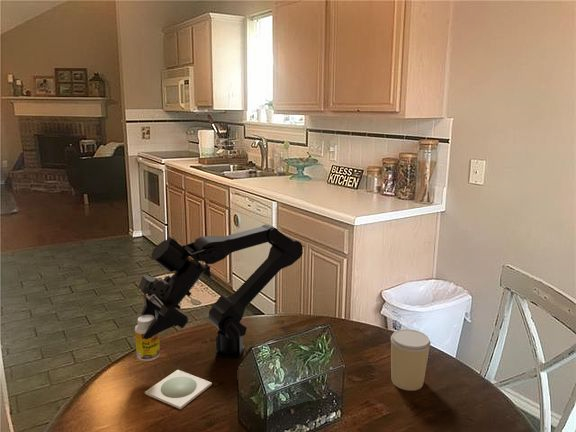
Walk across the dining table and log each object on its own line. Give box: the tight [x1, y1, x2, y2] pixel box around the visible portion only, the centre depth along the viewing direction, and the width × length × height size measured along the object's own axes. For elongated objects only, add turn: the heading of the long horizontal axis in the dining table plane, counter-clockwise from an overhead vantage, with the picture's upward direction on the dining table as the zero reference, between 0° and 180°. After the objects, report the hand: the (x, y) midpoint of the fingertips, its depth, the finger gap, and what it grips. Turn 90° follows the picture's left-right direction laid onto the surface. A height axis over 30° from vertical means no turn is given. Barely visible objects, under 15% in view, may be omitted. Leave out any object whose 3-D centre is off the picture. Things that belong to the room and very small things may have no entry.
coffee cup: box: [390, 328, 431, 391], centre depth 116 cm, size 9×9×12 cm
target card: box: [144, 369, 213, 410], centre depth 113 cm, size 11×11×1 cm
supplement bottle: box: [134, 315, 161, 362], centre depth 115 cm, size 6×6×10 cm
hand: (141, 333), depth 114 cm, fingers closed on supplement bottle, 5 cm apart
